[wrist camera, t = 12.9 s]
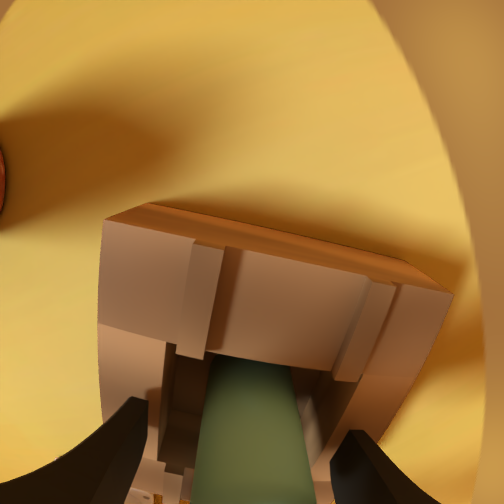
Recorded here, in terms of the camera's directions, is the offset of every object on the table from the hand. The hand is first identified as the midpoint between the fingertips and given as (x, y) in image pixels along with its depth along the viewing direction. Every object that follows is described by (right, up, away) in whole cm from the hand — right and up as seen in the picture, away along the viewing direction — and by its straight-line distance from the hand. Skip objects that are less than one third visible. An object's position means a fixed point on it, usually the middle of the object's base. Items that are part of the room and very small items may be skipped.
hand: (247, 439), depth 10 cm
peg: (0, +1, +4) cm, 4 cm away
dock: (0, +1, +4) cm, 4 cm away
